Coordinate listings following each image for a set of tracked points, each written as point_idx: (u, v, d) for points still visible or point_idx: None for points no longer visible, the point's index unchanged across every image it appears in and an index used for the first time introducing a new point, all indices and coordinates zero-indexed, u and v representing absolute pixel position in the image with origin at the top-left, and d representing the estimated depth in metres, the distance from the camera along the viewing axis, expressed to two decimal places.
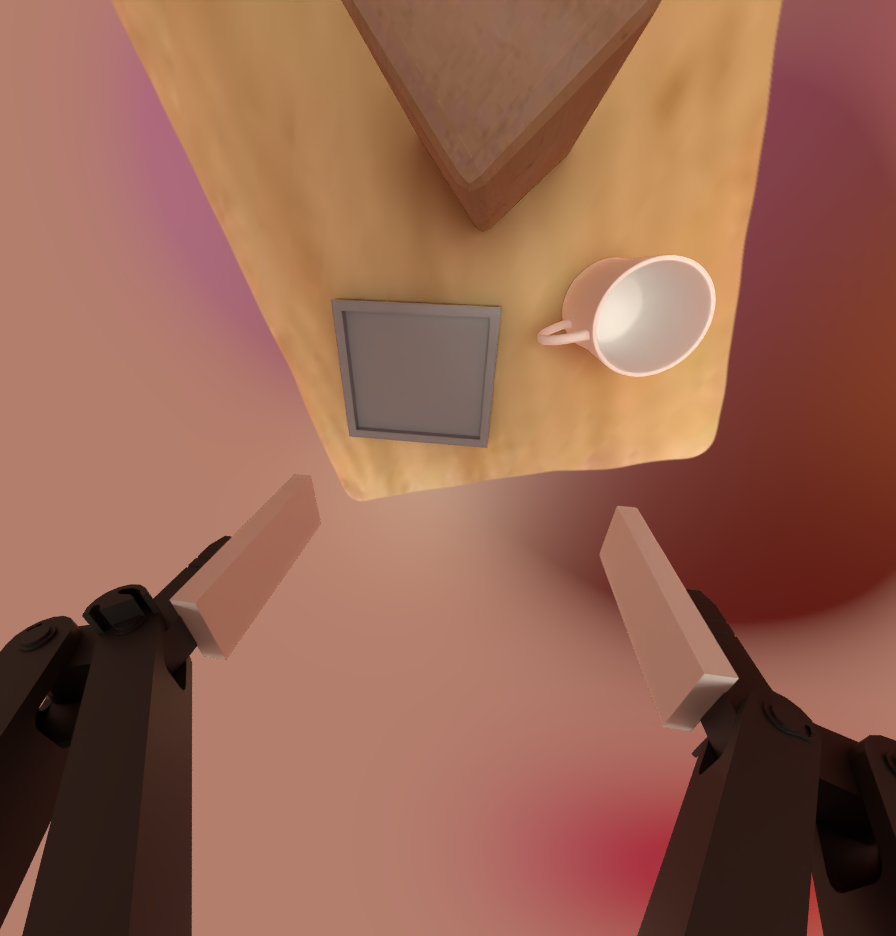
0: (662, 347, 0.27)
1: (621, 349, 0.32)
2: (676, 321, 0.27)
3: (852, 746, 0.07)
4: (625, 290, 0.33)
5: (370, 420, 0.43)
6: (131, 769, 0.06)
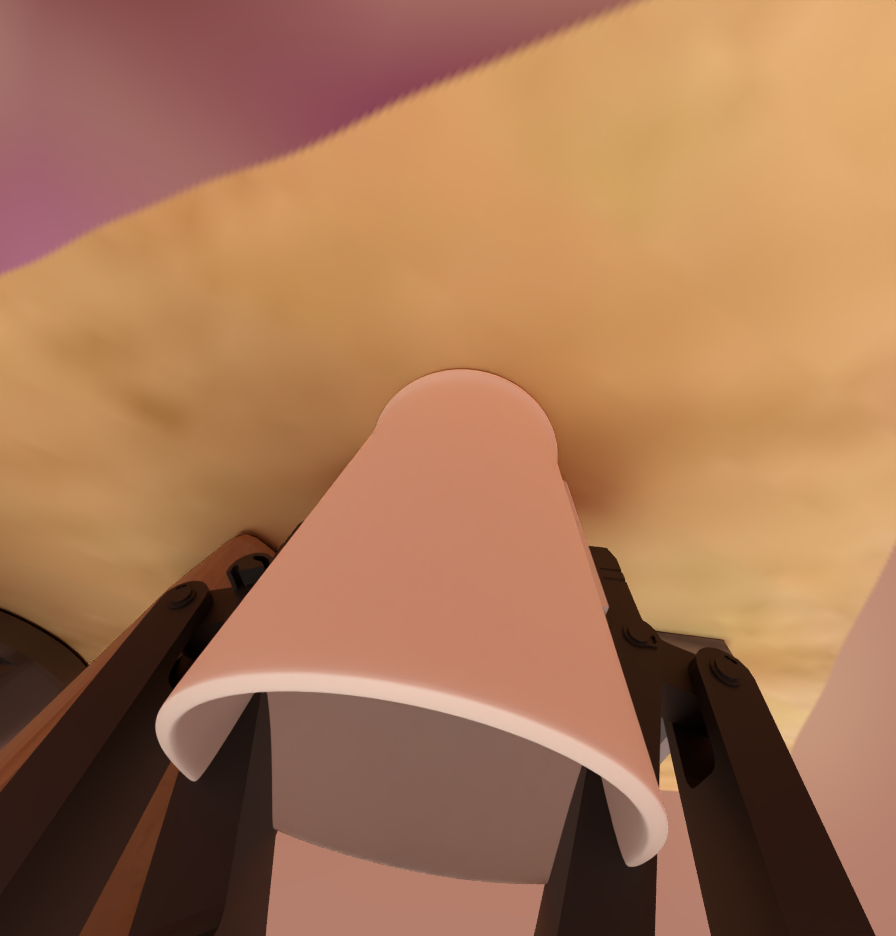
0: None
1: None
2: None
3: (690, 661, 0.09)
4: None
5: None
6: (245, 728, 0.07)
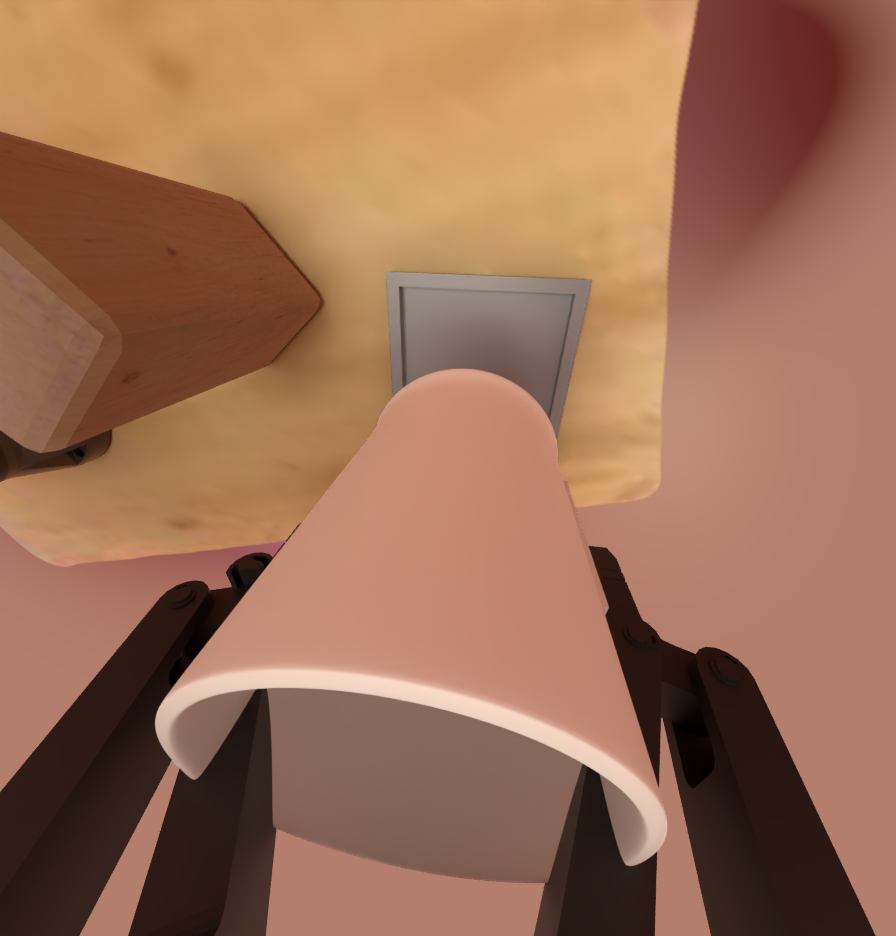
0: None
1: None
2: None
3: (689, 661, 0.09)
4: None
5: None
6: (245, 727, 0.07)
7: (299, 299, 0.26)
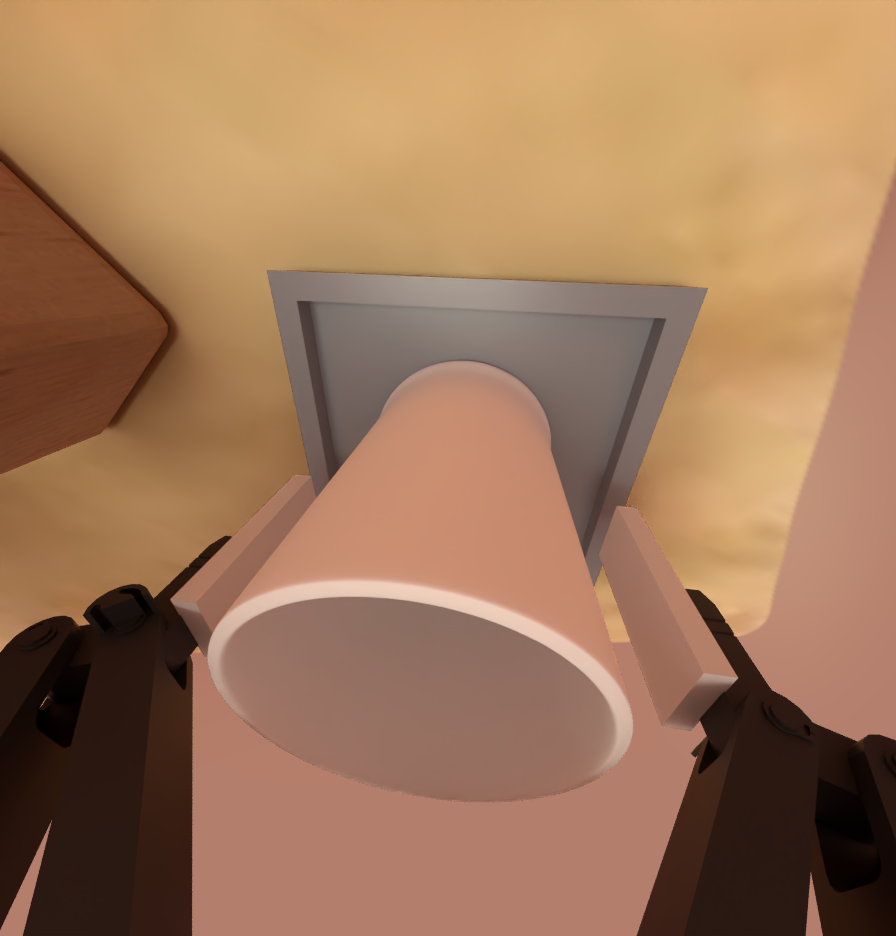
0: None
1: None
2: None
3: (851, 745, 0.07)
4: None
5: None
6: (132, 768, 0.06)
7: (81, 328, 0.12)
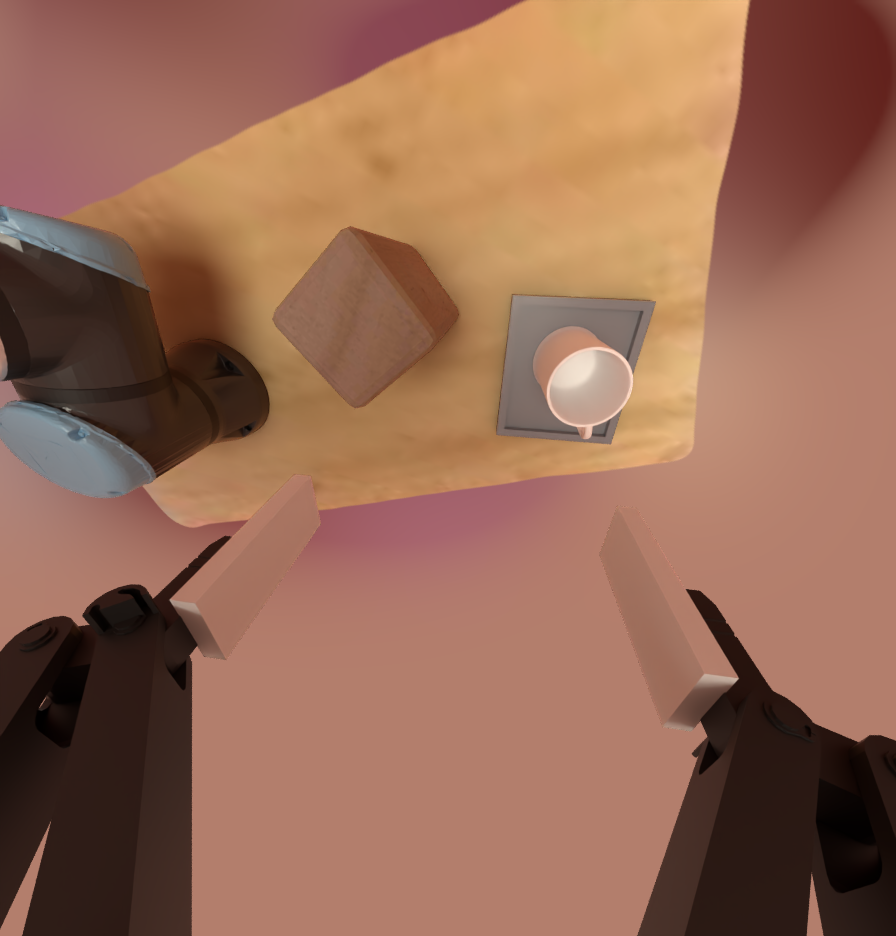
0: (611, 355, 0.34)
1: (606, 362, 0.38)
2: None
3: (852, 746, 0.07)
4: None
5: None
6: (131, 769, 0.06)
7: (455, 314, 0.39)
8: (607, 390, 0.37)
